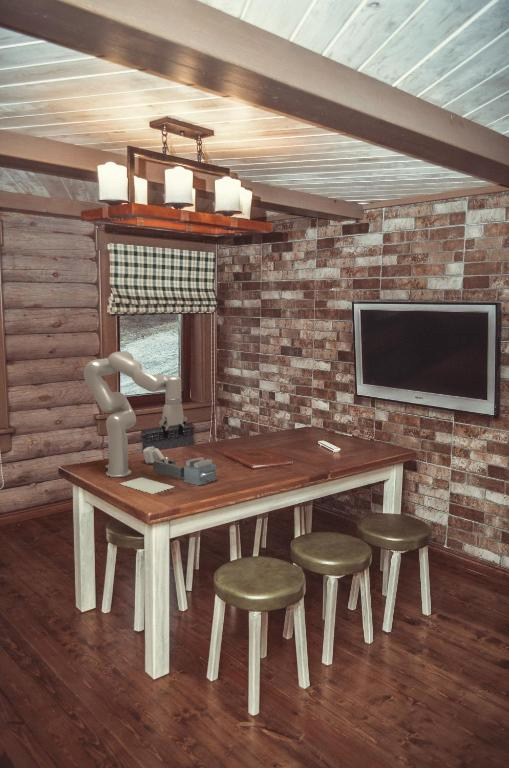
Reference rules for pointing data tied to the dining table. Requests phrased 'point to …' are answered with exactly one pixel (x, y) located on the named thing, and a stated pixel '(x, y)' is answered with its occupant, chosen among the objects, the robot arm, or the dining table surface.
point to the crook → (168, 468)
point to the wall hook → (152, 454)
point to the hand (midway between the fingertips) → (173, 436)
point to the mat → (146, 485)
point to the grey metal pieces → (198, 471)
